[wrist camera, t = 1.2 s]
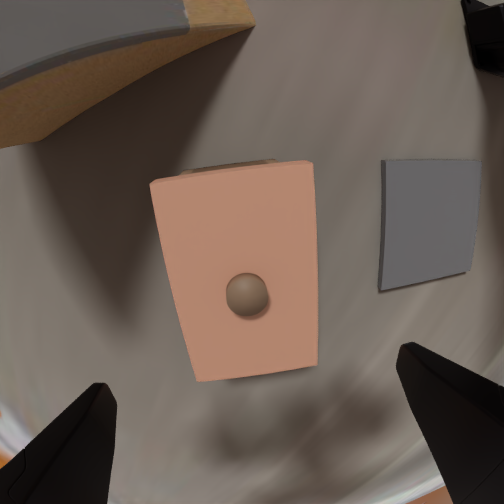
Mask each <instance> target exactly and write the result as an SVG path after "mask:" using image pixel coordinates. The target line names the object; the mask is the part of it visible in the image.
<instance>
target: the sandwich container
mask: <svg viewBox="0 0 504 504" xmlns="http://www.w3.org/2000/svg"><path fill="white" fill-rule="evenodd" d="M255 25H256V22H255V19H254V17H253V15H252V13H251V11H250V9H249V7H248V5H247V3H246V1H245V0H0V149H1V148H5V147H10V146H15V145H20V144H25V143H31V142H37V141H41V140H43V139H44V138H45V137H47V136H48V135H50V134H51V133H52V132H54V131H55V130H57V129H58V128H60V127H61V126H62V125H64V124H65V123H67V122H68V121H70V120H71V119H73V118H74V117H76V116H78V115H79V114H81V113H82V112H84V111H85V110H87V109H89V108H90V107H92V106H94V105H95V104H97V103H99V102H100V101H102V100H104V99H105V98H107V97H109V96H111V95H112V94H114V93H116V92H118V91H119V90H121V89H122V88H124V87H126V86H127V85H129V84H131V83H132V82H134V81H136V80H138V79H139V78H141V77H143V76H145V75H147V74H148V73H150V72H152V71H154V70H156V69H158V68H160V67H161V66H163V65H165V64H167V63H169V62H171V61H173V60H175V59H177V58H179V57H181V56H184V55H186V54H188V53H190V52H192V51H194V50H196V49H199V48H201V47H203V46H205V45H208V44H210V43H212V42H215V41H217V40H220V39H222V38H225V37H227V36H230V35H232V34H235V33H237V32H240V31H243V30H246V29H248V28H251V27H254V26H255Z"/></svg>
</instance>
